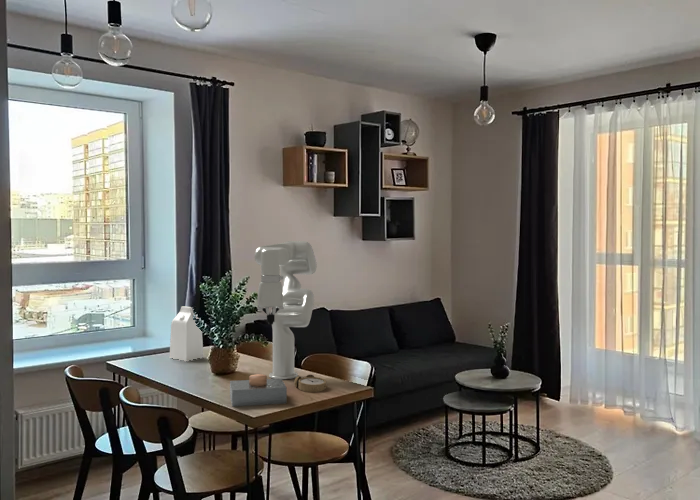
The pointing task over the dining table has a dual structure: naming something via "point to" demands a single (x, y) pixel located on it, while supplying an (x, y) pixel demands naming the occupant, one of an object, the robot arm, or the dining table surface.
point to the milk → (185, 336)
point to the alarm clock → (310, 383)
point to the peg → (257, 380)
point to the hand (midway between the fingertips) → (270, 324)
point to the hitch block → (258, 393)
